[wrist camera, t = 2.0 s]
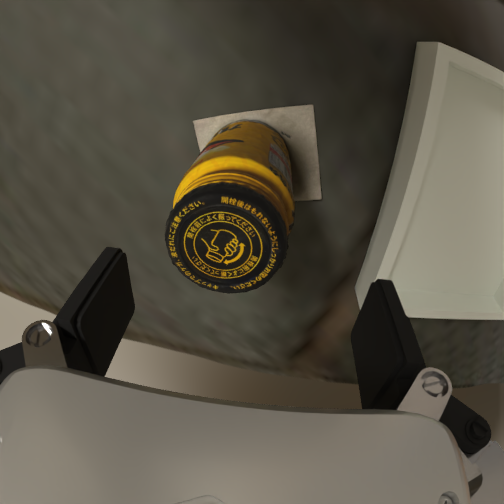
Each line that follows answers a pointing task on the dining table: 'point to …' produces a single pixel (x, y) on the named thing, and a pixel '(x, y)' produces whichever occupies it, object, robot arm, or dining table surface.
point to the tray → (445, 193)
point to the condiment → (243, 196)
